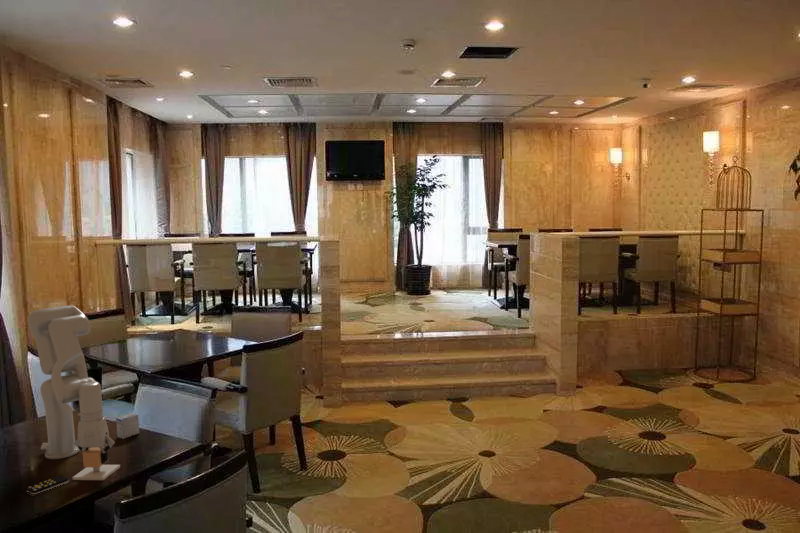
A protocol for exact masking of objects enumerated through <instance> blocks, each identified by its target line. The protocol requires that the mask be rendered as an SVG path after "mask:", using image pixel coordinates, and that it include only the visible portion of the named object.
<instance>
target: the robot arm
mask: <svg viewBox="0 0 800 533" xmlns="http://www.w3.org/2000/svg"><path fill="white" fill-rule="evenodd" d="M27 325H28V328H29V331H30V333H31V336H32V337H33V338H34V341H35V344H36V348H37V354H38V360H39V364H40V369H41V372H42V374H44V375H45V376H51V377H50V378H49V379H47V380H45V381H43V382H42V383H41V385H40V389H39V390H40V395H41V398H42V402H43V406H44V412H45V413H44V414H45V422H46V431H47V432H46V433H47V434H46V435H47V442H42V444H41V445H40V450H46V451H45V454H44V457H45V458H46V459H48V460H62V459H66V458H69V457H72V456H75V455H76V454H78V453H79V452H80V451H81V452H80V453H81V454H83V452H85V451H86V450H88V449H89V448H91V447H99V448H100V450H101V452H102V453H101V463H102V464H103V465H105V464H106V463H107V462H108V461H109V450H111V448H112V447H113V446H114V445H115V443H116V442H115V440H113V438H111V437H110V433H109V427H108V424H107V420H106V417H105V416H104V408H103V397H102V387H101V386H102V385H101V384H100V382H99V381H97V380H95V379H94V378H93V377H89V375H88V370H87V364H86V359H85V355H84V352H83V350H82V347H81V345H80V342H79V339H78V337H82V336H87V335H88V334H89V333H90V332H91V323H90V320H89V318H88V316H86V314H85V313H84V312H83V311H81V310H80V309H79V308H78V307H76V306H75V305H61V306H55V307H54V306H53V307H46V308H40V309H36V310H33V311H32V312H30V313H29V315H28V316H27ZM67 372H71V374H67V375H66V374H65V375H62V373H67ZM77 401H79V402H78V403H79V405H78V406H79V412H78V413H77V417H79V418H80V420H78V425H77V439H76V436H75V426H74V414H73V413H74V412H73V408H72V407H71V406H70V404H68V403H73V402H77ZM107 443H108V444H107ZM107 451H108V452H107ZM105 462H106V463H105ZM104 463H105V464H104Z"/></svg>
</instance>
